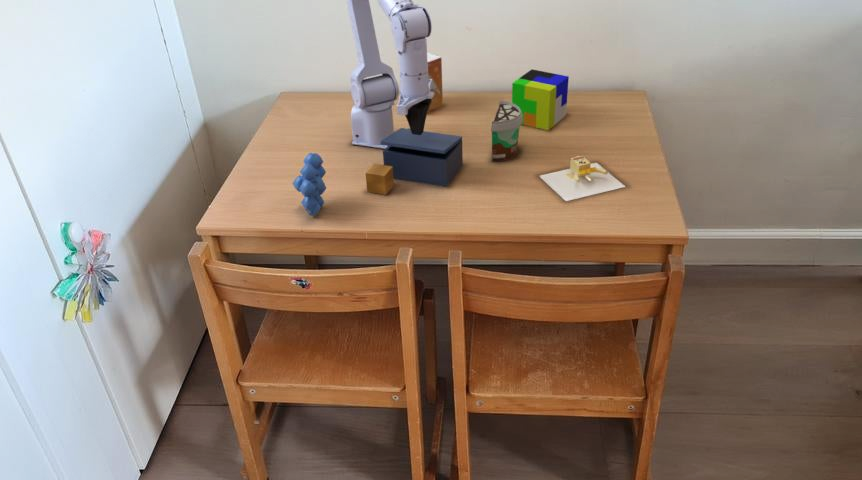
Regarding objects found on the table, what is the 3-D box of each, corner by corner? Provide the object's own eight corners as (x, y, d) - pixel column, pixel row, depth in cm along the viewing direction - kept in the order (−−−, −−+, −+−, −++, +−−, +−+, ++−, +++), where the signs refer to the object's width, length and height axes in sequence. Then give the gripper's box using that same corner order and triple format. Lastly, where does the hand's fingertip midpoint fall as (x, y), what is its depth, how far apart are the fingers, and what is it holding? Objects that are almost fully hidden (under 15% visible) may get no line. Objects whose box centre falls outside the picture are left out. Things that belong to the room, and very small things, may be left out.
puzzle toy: (566, 115, 191) (568, 76, 185) (548, 130, 184) (550, 90, 178) (530, 107, 195) (531, 69, 189) (511, 121, 188) (512, 83, 182)
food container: (518, 165, 170) (519, 124, 164) (491, 164, 171) (491, 122, 165) (524, 141, 180) (526, 101, 174) (499, 139, 181) (499, 99, 175)
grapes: (303, 194, 163) (295, 143, 156) (334, 195, 162) (327, 143, 155) (289, 223, 154) (279, 170, 146) (322, 224, 153) (314, 171, 146)
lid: (444, 154, 158) (444, 150, 158) (380, 144, 162) (380, 141, 162) (462, 139, 167) (462, 136, 167) (401, 131, 171) (401, 127, 171)
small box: (420, 115, 193) (418, 65, 185) (404, 108, 197) (400, 59, 189) (443, 105, 197) (442, 56, 190) (427, 99, 201) (424, 50, 193)
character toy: (579, 174, 158) (560, 158, 164) (578, 188, 160) (560, 172, 166) (612, 166, 160) (593, 151, 166) (611, 180, 162) (592, 164, 168)
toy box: (447, 187, 163) (446, 160, 160) (384, 177, 168) (382, 151, 164) (462, 165, 171) (462, 140, 167) (403, 156, 175) (401, 131, 172)
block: (367, 192, 163) (365, 172, 160) (375, 182, 166) (374, 163, 163) (386, 195, 161) (384, 175, 159) (394, 185, 165) (392, 166, 162)
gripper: (418, 86, 147) (422, 150, 155) (445, 60, 157) (447, 121, 166) (384, 82, 149) (390, 146, 157) (413, 56, 159) (417, 117, 168)
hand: (417, 133), depth 161 cm, fingers closed
